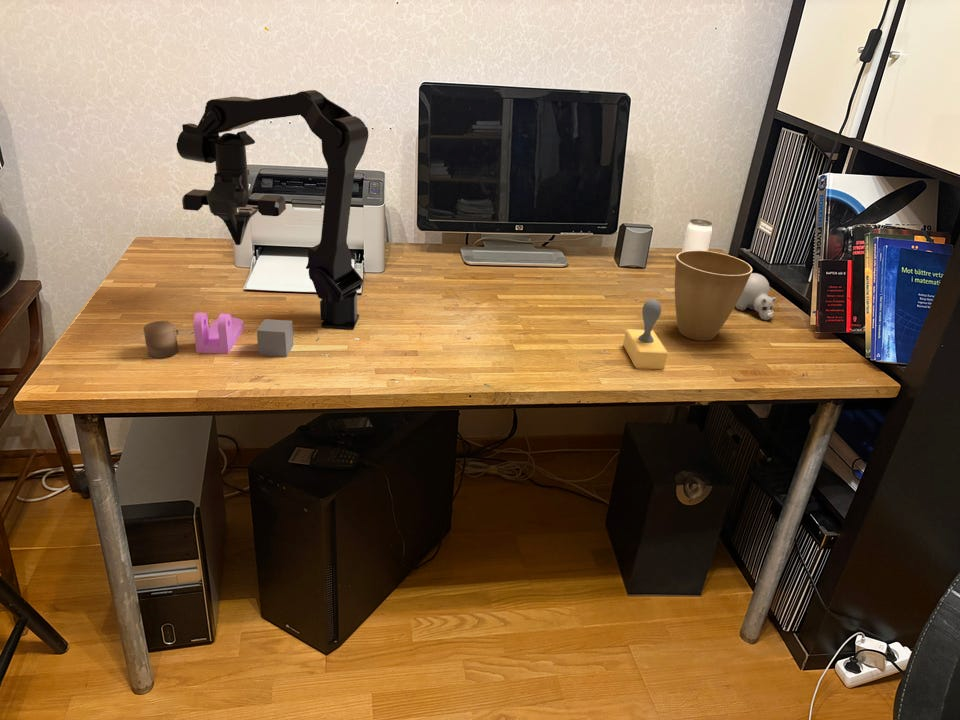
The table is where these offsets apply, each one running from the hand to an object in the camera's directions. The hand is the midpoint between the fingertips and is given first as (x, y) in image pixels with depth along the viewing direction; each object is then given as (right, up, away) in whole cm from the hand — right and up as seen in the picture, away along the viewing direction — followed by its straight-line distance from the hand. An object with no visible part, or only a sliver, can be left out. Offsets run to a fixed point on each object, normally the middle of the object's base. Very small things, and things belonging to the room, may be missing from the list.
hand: (238, 244), depth 143 cm
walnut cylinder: (-7, -22, -18) cm, 29 cm away
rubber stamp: (+81, -23, -6) cm, 84 cm away
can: (+106, +2, +46) cm, 115 cm away
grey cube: (+12, -22, -14) cm, 28 cm away
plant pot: (+95, -18, +6) cm, 97 cm away
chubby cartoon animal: (+111, -13, +19) cm, 114 cm away
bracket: (+1, -20, -11) cm, 22 cm away
